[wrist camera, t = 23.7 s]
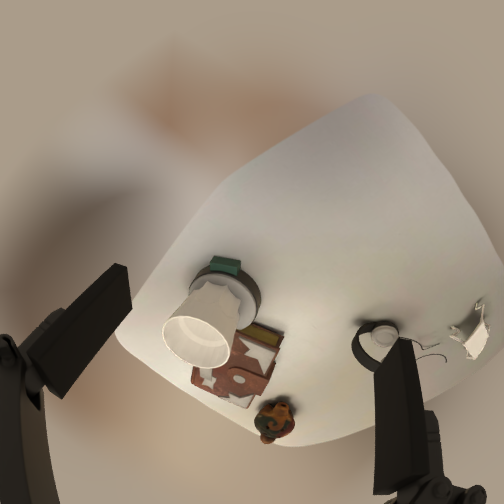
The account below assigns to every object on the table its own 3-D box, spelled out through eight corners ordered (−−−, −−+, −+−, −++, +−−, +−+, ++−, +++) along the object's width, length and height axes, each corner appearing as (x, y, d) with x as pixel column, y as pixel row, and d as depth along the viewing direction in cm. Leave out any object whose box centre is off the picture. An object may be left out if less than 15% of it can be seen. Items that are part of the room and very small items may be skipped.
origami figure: (443, 316, 42) (450, 335, 38) (482, 296, 38) (492, 314, 34) (452, 354, 45) (458, 372, 41) (487, 337, 42) (494, 355, 38)
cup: (216, 333, 50) (197, 374, 42) (177, 293, 48) (150, 331, 40) (259, 311, 46) (244, 356, 37) (217, 265, 44) (192, 304, 35)
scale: (192, 251, 48) (184, 261, 45) (264, 264, 45) (260, 275, 43) (196, 312, 54) (189, 323, 51) (258, 326, 52) (254, 338, 49)
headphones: (430, 339, 48) (343, 333, 47) (441, 323, 46) (353, 314, 45) (448, 377, 39) (354, 379, 38) (461, 361, 37) (367, 361, 36)
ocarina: (255, 419, 69) (247, 442, 62) (263, 387, 63) (254, 414, 56) (290, 427, 67) (284, 452, 60) (304, 397, 61) (298, 424, 54)
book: (211, 302, 53) (199, 318, 49) (290, 335, 51) (283, 355, 46) (197, 370, 65) (187, 385, 61) (257, 396, 63) (250, 413, 58)
